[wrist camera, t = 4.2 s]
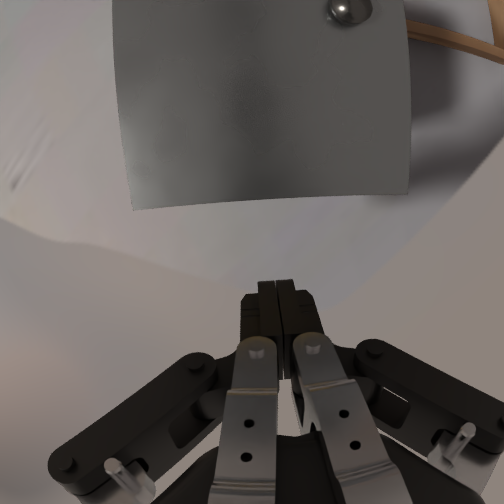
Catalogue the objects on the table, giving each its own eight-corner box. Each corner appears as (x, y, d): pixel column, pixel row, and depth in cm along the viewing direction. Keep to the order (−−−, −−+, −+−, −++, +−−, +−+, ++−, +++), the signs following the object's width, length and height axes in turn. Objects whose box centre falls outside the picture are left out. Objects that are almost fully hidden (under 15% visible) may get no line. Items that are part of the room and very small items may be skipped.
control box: (178, 33, 16) (106, -35, 6) (322, 25, 16) (403, -44, 5) (189, 160, 20) (129, 226, 9) (329, 151, 20) (414, 208, 9)
